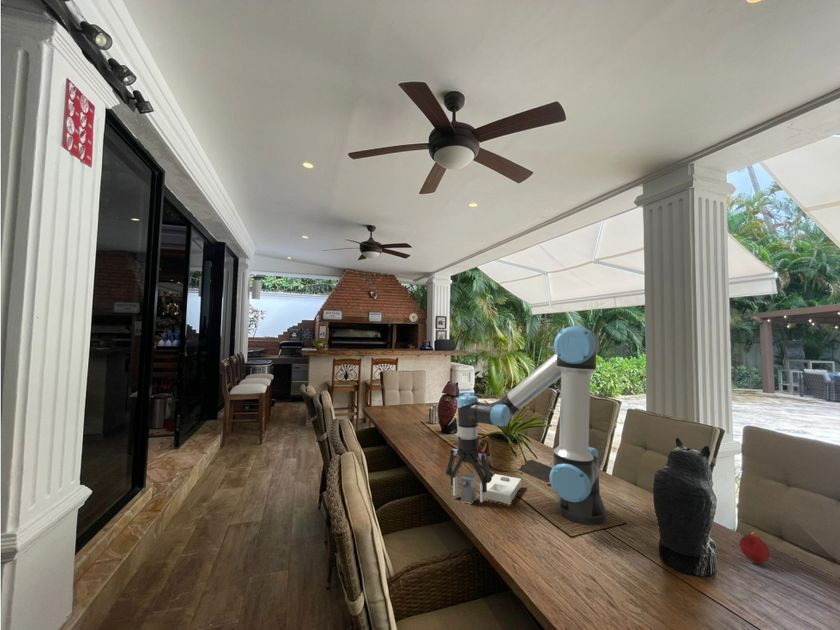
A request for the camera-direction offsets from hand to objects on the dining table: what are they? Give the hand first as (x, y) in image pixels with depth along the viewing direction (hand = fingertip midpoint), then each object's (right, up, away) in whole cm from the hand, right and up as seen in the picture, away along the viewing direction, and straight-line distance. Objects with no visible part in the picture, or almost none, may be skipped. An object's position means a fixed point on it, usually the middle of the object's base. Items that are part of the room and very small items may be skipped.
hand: (468, 497), depth 130 cm
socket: (+14, -2, +7) cm, 16 cm away
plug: (0, -1, 0) cm, 1 cm away
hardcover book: (+36, -4, +28) cm, 46 cm away
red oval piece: (+72, +1, -37) cm, 81 cm away
